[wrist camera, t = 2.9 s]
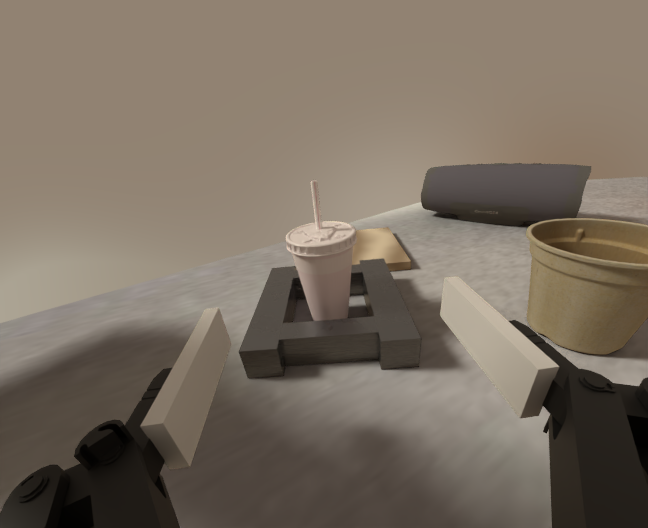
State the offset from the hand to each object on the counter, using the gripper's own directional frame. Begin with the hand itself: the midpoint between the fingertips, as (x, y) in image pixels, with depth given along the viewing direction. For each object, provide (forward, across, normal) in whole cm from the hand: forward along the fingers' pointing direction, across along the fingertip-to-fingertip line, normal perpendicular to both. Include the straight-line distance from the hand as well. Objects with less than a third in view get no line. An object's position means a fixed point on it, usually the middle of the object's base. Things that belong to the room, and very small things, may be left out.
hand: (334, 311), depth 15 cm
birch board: (+25, +5, -8) cm, 27 cm away
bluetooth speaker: (+32, +32, -8) cm, 46 cm away
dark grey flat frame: (+10, 0, -8) cm, 12 cm away
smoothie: (+10, 0, -8) cm, 13 cm away
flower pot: (+4, +21, -8) cm, 23 cm away
